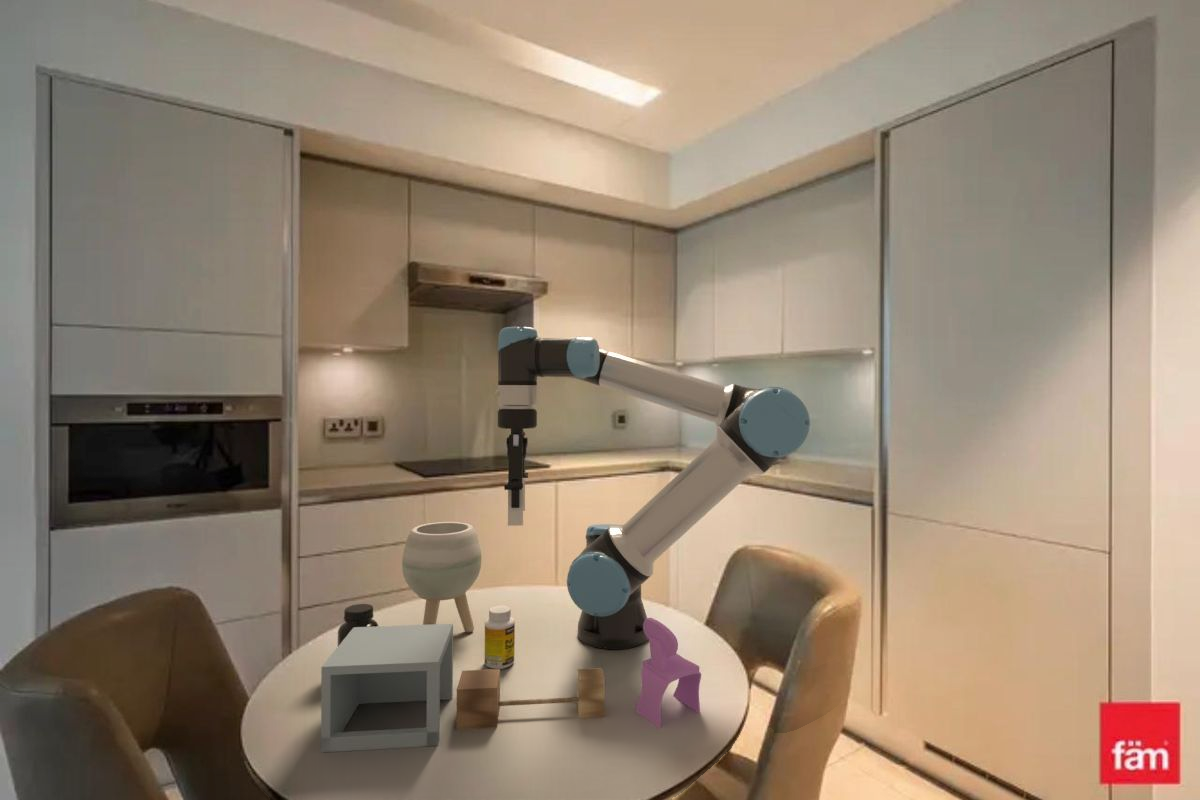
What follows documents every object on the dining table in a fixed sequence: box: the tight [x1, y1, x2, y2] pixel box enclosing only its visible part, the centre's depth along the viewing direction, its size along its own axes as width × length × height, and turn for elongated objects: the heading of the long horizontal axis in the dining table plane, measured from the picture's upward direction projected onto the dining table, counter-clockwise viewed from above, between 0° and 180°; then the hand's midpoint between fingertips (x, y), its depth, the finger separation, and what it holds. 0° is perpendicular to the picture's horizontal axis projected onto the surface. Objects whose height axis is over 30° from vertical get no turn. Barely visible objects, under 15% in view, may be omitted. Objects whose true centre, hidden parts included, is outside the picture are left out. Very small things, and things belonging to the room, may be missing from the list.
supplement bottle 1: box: [336, 603, 379, 648], centre depth 103 cm, size 7×7×12 cm
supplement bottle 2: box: [484, 605, 516, 670], centre depth 108 cm, size 6×6×10 cm
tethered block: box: [456, 667, 606, 730], centre depth 90 cm, size 22×6×6 cm, turn 96°
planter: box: [401, 521, 482, 633], centre depth 121 cm, size 16×16×22 cm
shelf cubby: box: [320, 623, 454, 753], centre depth 88 cm, size 16×14×12 cm
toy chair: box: [634, 617, 702, 729], centre depth 92 cm, size 8×9×15 cm
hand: (516, 517), depth 111 cm, fingers open, 13 cm apart
